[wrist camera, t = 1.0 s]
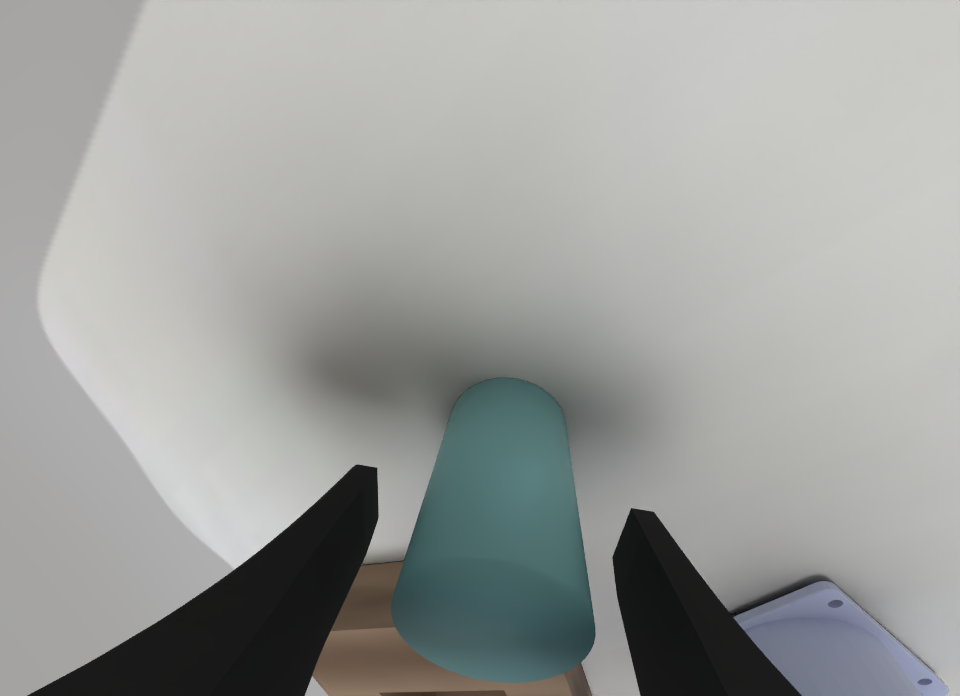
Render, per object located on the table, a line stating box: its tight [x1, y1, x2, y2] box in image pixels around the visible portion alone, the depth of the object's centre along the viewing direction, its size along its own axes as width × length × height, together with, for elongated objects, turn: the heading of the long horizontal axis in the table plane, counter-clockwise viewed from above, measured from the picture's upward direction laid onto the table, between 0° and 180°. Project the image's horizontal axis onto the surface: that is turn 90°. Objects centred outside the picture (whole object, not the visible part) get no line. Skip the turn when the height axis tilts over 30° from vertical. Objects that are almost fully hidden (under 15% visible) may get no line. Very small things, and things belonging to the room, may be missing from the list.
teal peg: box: [391, 378, 595, 683], centre depth 11 cm, size 4×4×7 cm
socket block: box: [312, 561, 592, 696], centre depth 20 cm, size 16×12×3 cm
